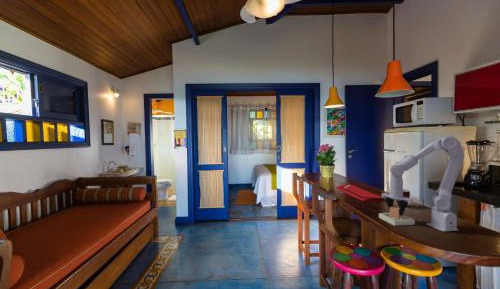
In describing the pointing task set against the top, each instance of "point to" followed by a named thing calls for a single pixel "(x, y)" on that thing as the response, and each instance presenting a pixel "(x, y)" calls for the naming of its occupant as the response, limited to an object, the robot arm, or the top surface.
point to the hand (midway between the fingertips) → (396, 213)
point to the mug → (405, 193)
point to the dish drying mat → (359, 193)
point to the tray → (397, 220)
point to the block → (395, 212)
